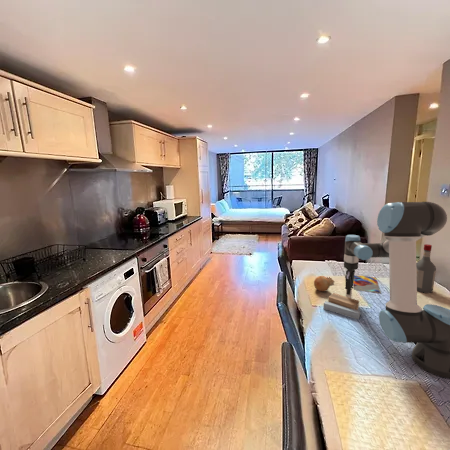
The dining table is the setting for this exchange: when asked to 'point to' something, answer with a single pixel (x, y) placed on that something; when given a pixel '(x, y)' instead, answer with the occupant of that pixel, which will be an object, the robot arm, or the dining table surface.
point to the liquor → (425, 272)
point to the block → (343, 301)
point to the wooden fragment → (330, 281)
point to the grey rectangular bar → (342, 310)
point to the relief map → (366, 284)
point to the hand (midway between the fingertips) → (348, 298)
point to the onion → (321, 283)
